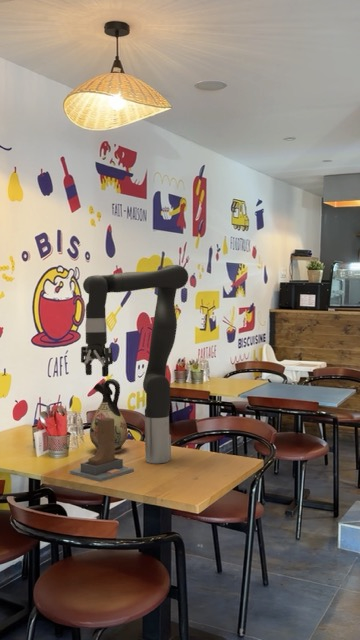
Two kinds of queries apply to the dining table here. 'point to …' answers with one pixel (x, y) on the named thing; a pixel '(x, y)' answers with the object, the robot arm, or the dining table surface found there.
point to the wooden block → (104, 442)
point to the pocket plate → (102, 470)
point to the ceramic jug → (109, 414)
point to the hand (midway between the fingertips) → (96, 375)
